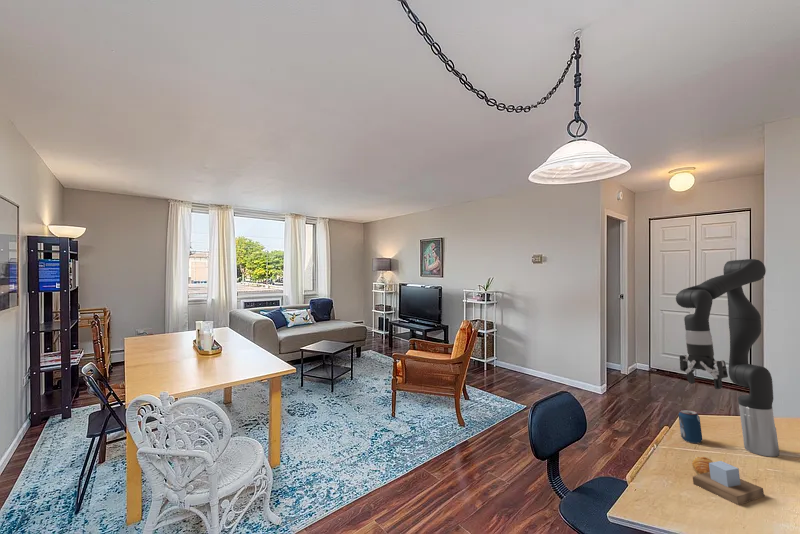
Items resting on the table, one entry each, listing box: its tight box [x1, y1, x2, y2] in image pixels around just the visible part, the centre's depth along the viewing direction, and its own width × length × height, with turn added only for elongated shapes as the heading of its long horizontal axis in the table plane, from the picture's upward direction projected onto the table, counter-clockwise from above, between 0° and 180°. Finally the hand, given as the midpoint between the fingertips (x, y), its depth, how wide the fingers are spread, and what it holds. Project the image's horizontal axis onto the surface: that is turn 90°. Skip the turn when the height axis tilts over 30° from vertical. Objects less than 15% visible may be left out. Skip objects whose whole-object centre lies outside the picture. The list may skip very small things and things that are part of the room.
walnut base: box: [692, 472, 765, 506], centre depth 108 cm, size 12×12×3 cm
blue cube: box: [709, 460, 741, 487], centre depth 109 cm, size 5×5×5 cm
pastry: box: [691, 456, 713, 475], centre depth 119 cm, size 9×7×4 cm
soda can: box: [677, 408, 703, 444], centre depth 143 cm, size 7×7×12 cm
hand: (704, 386), depth 126 cm, fingers open, 8 cm apart
